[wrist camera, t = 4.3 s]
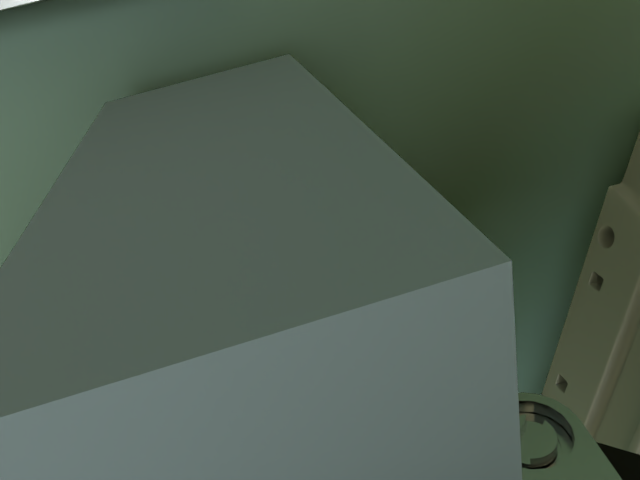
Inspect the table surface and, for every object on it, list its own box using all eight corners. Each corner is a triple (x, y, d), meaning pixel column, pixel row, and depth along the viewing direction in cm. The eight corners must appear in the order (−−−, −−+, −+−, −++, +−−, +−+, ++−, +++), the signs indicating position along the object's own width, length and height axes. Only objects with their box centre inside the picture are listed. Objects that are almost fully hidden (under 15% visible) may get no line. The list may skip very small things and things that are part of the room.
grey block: (289, 54, 9) (510, 260, 3) (383, 460, 14) (541, 866, 7) (101, 103, 8) (-134, 457, 2) (265, 499, 13) (326, 951, 7)
